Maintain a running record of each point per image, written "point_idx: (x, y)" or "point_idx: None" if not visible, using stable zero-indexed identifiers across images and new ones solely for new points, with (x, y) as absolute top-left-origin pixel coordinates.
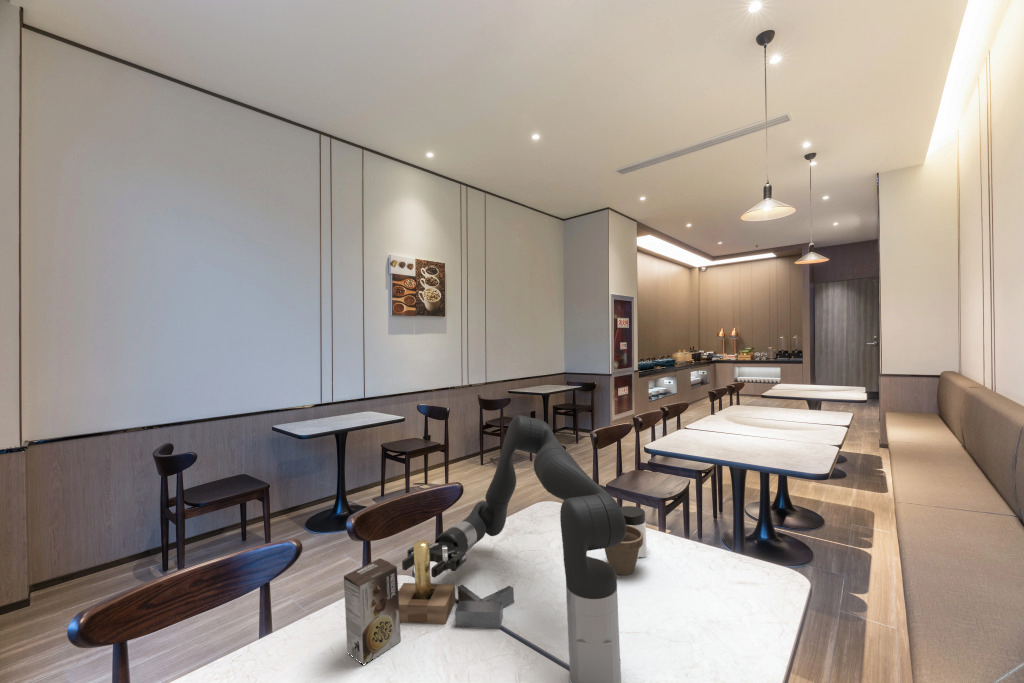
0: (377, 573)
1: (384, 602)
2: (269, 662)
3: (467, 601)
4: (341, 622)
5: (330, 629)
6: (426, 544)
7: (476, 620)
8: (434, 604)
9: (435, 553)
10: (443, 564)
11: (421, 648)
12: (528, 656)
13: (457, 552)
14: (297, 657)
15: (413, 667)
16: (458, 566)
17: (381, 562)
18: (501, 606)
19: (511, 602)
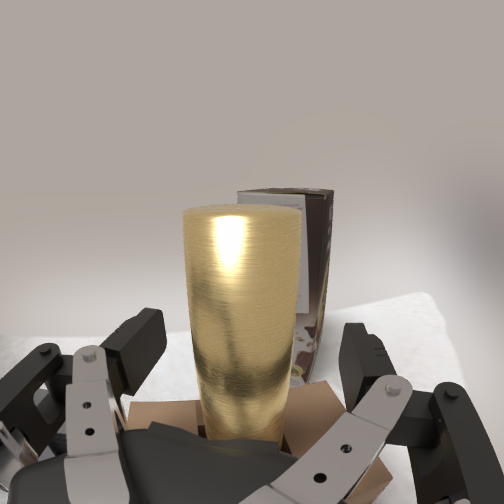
0: (268, 189)
1: None
2: (400, 307)
3: (63, 431)
4: (418, 376)
5: (411, 359)
6: (191, 208)
7: None
8: (169, 406)
9: (193, 439)
10: (104, 346)
11: (181, 370)
12: (4, 355)
13: (2, 423)
14: (381, 319)
15: (180, 340)
16: (37, 408)
17: (298, 190)
18: None
19: None
